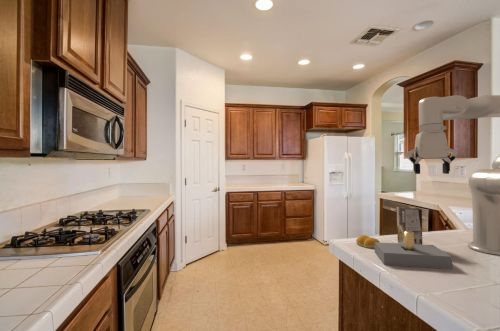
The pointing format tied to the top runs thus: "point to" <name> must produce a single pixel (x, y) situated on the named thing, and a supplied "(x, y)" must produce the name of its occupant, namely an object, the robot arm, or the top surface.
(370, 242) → the bread roll
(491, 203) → the robot arm
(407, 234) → the brass peg
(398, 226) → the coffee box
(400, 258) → the hole block
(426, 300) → the top surface
